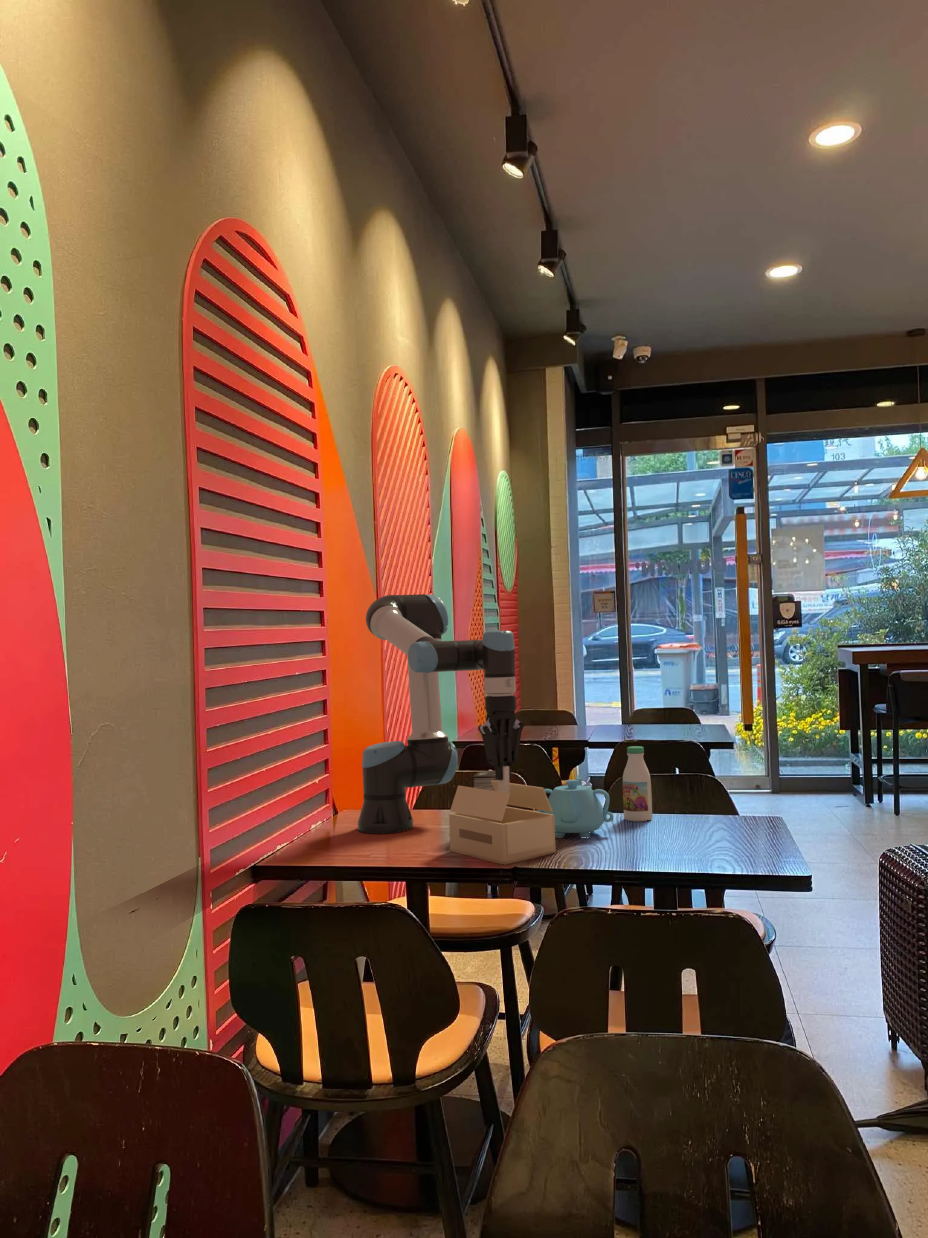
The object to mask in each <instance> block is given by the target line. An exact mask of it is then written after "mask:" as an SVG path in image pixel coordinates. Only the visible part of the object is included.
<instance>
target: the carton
mask: <svg viewBox="0 0 928 1238" xmlns="http://www.w3.org/2000/svg"><path fill="white" fill-rule="evenodd" d="M448 821H449V846H450V847H449V848H450V849H449V850H450V851H449V852H451V853H455V854H456V853H457V854H460V855H464V856H468V857H472V858H475V859H479V860H484V861H488V862H491V863H496V864H500V865H503V864H504V866H505V865H509V864H514V863H517V862H518V863H519V862H521V861H526V860H527V861H528V860H531V859H535V858H540V857H544V856H549V855H553V853H554V854H556V853H557V852H556V849H557V848H556V838H555V833H556V831H555V822H554V815H553V814H547V813H541V812H537V811H534V810H529V809H523V808H517V807H511V806H508V805H507V806H506V809H505V813H504V816H503V819H502V821H497V820H492V819H487V818H482V817H476V816H471V815H466V814H461V813H456V812H451V813H449V815H448Z"/></svg>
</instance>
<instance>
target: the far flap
mask: <svg viewBox="0 0 928 1238" xmlns="http://www.w3.org/2000/svg"><path fill="white" fill-rule="evenodd" d="M491 783H492V785H493V787H494V790H495V791H497V792H498V781H493V780H491ZM544 789H545V788H544V787H543V786H542V787H541V786H534V785H525V784H521V783H520V784H519V783H511V782H510V796H509V799H508V803H507V806H509V805H510V806H513V807H521V808H525V809H526V808H527V809H532V810H536V811H540V810H543V811H549V812H553V811H552V808H551V806H550V803H549V801H548V798H549V797H548V796H547V793H545V791H544Z"/></svg>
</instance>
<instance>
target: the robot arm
mask: <svg viewBox="0 0 928 1238" xmlns="http://www.w3.org/2000/svg"><path fill="white" fill-rule="evenodd" d="M365 624H366V627H367V629H368V631H369V633H371V634H372V635H373V636H374V637H376V638H377V639H379V640H382V641H383V640H384V641H387V642H389V643H390V644H391V645H392V646H394V647H396V648H397V649H398V650H399V651H400V652H402V653H404V654H405V655H406V656H407V671H408V672H407V673H408V686H409V687H408V689H409V701H410V702H409V703H410V704H409V706H410V720H411V721H410V722H411V734H410V735H409V736H408V737H407V738H406V740H407V741H406V742H407V745H405V743H404V742H403V741H401V740H393V741H386V742H385V741H384V742H379V743H375V744H371V745H369V746H367V747H365V748H364V750H363V751H362V759H361V760H362V762H361V767H362V788H363V789H362V791H363V792H362V793H363V794H362V795H363V802H362V806H361V809H360V812H359V817H358V821H357V830H358V831H359V832H360V833H365V834H392V833H393V834H394V832H395V833H401V832H400V831H402V832H404V831H403V830H406V831H408V830H407V829H409V830H412V829H413V828H414V819H413V816H412V814H411V810H410V807H409V803H408V802H407V798H406V797H407V796H406V793H407V792H406V789H409V788H416V787H417V788H418V787H419V788H420V787H426V786H438V785H444V784H447V783H449V782H450V781H452V779H453V778H454V776H455V774H456V771H457V767H458V752H457V750H456V748H457V747H456V746H455V744H454V743H453V742H451V741H449V735H448V734H446V732H444V730H443V724H442V706H441V693H440V690H441V689H440V678H439V677H440V676H439V673H441V672H442V673H444V672H464V671H483V673H484V675H483V677H484V678H483V680H484V681H483V684H484V686H483V688H484V694H486V696H485V697H484V705H485V711H486V717H485V722H484V723H483V724H480V725H478V728H477V730H478V731H479V733H480V735H481V738H482V743H483V747H484V751H485V757H486V760H487V764H489V765H492V766H493V767H494V769H495V770H494V771H495V778H496V780H498V792H504V793H509V794H510V783H511V781H510V779H511V780H512V767H513V766H514V765H515V763H517V762H518V760H519V752H520V744H521V738H522V731H523V729H524V727H525V722H524V721H520V720H518V718H517V715H516V712H515V711H516V710H517V696H516V695H514V694H515V693H516V692H517V689H516V687H517V686H516V657H515V656H516V653H515V652H516V651H515V650H516V649H515V648H516V646H515V641H514V640H515V639H514V634H513V632H512V631H510V630H490V631H485V632H484V633H483V635H482V639H467V640H466V639H465V640H442V636H443V635H444V634H446V632H447V631H448V629H449V628H448V625H449V615H448V610H447V607H446V605H445V603H444V602H443V600H442V598H440V597H439V596H438V595H435V594H425V593H423V594H387V595H384V596H380V597H379V598H377V599H376V600H374V601H373V602H372V603H371V604H370V606H369V607H368V608H367V611H366V614H365ZM412 827H413V828H412ZM411 828H412V829H411Z"/></svg>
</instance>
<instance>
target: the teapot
mask: <svg viewBox="0 0 928 1238" xmlns="http://www.w3.org/2000/svg"><path fill="white" fill-rule="evenodd" d="M565 782H566V785H560V786H559V785H558V786H556V787H554V789H553V790H552V789H550V788H544V791H545V793H546V794H549V797H547V798H548V801H549V803H550V806H551V808H552V811H553V812H549V811H543V810H536V812H541V813H547V814H553V815H554V822H555V837H564V838H565V835H566V833H568V834H573V833H574V834H579V838H580V837H586V838H587V837H591V838H592V835H591V833H589V832H594V833H595V831H597V830H599V829H600V827H602V826H603V824H604V822H605V823H610V822H612V821H613V820H614V814H613V813H612V812H611V811H609V807H610V794H609V793H608V791H606V790H604V789H600V788H597V789H594V790H593V789H592V787H590V786H588V785H583V775H582V774H578V775H577V776H576V777H575V779H568V780H566V781H565ZM597 794H602V795H603V796H604V798H605V802H604V806H602V803H601V801H600V799H599V797H598V796H597ZM608 815H609V817H607V816H608Z"/></svg>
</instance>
